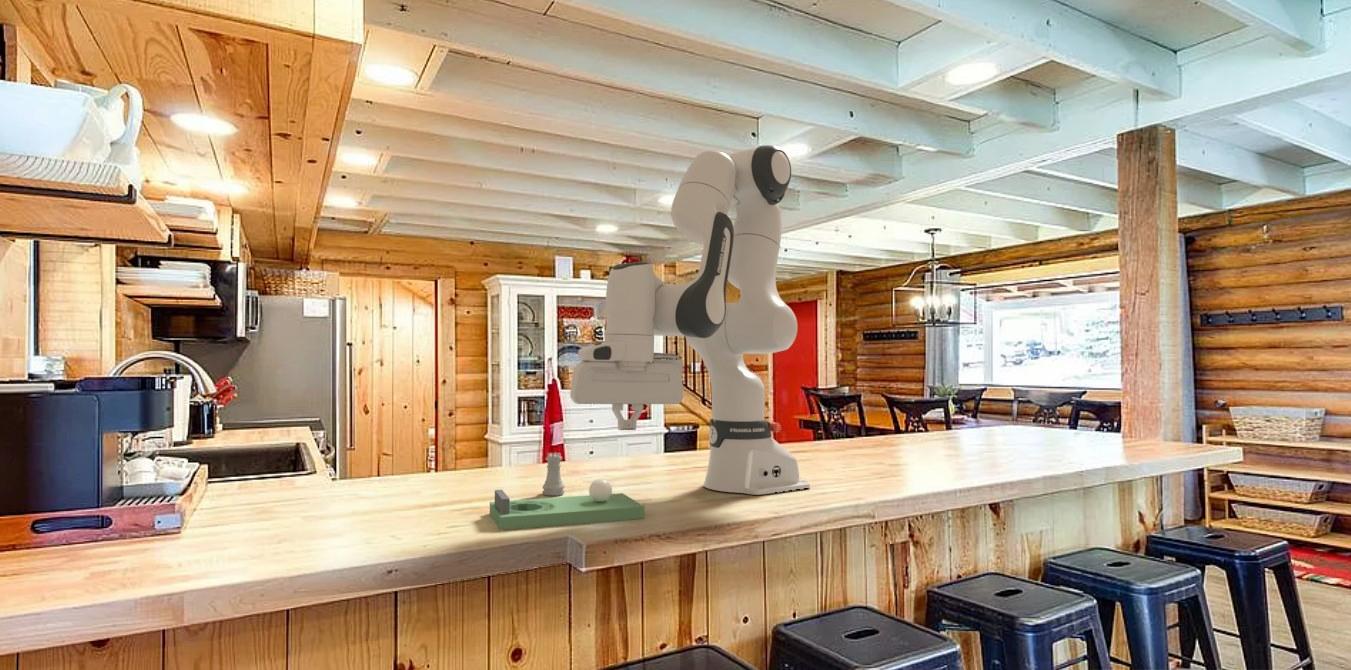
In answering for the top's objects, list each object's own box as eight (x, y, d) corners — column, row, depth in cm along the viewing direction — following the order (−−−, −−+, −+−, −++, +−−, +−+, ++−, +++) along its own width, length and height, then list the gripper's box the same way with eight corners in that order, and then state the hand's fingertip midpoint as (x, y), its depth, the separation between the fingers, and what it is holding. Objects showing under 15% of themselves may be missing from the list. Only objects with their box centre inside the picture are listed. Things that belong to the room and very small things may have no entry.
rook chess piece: (560, 497, 138) (560, 455, 138) (538, 495, 138) (539, 454, 139) (568, 492, 142) (568, 452, 142) (546, 491, 143) (547, 451, 143)
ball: (608, 498, 127) (608, 476, 127) (614, 503, 123) (615, 480, 123) (586, 500, 125) (586, 477, 125) (592, 505, 122) (592, 481, 122)
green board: (622, 504, 132) (622, 480, 132) (644, 518, 121) (644, 492, 121) (489, 513, 123) (490, 488, 123) (500, 530, 112) (500, 501, 112)
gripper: (676, 353, 133) (674, 427, 133) (569, 350, 126) (566, 428, 125) (689, 353, 128) (687, 431, 127) (578, 350, 120) (575, 432, 119)
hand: (626, 430), depth 126 cm, fingers closed
